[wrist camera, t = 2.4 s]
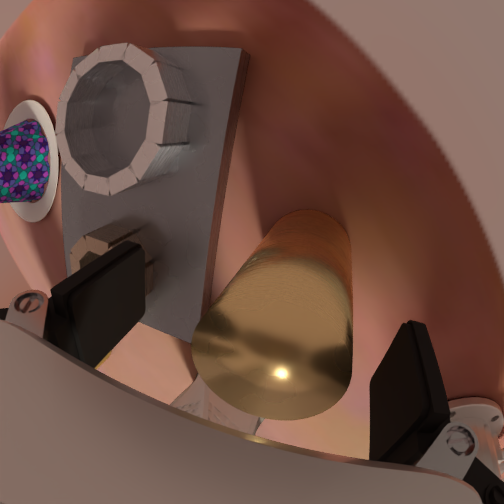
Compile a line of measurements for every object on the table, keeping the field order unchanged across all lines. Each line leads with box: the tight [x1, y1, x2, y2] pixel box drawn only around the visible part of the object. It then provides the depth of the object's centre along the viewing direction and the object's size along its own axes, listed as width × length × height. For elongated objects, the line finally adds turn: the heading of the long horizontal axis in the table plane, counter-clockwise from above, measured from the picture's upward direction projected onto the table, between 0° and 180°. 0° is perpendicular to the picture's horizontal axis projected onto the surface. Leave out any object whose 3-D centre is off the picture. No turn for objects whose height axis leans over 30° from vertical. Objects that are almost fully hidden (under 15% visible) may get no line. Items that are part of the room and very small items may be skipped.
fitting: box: [191, 209, 353, 420], centre depth 13 cm, size 5×5×10 cm
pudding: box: [0, 100, 58, 222], centre depth 20 cm, size 12×12×5 cm
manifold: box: [55, 43, 250, 343], centre depth 18 cm, size 13×19×4 cm
